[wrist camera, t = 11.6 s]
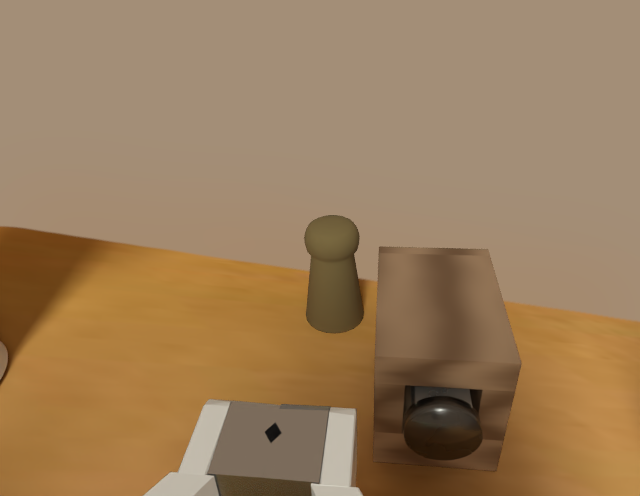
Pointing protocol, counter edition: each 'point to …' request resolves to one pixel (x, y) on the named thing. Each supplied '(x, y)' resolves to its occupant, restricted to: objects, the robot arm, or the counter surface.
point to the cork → (333, 275)
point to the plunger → (442, 423)
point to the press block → (441, 346)
